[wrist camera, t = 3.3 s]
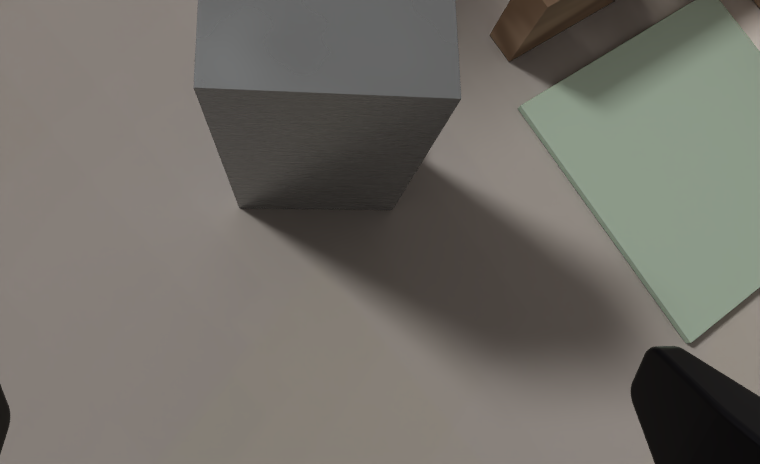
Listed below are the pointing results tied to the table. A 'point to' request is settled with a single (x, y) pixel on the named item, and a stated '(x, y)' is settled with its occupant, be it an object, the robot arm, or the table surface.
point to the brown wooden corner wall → (540, 22)
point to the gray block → (325, 96)
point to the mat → (669, 158)
